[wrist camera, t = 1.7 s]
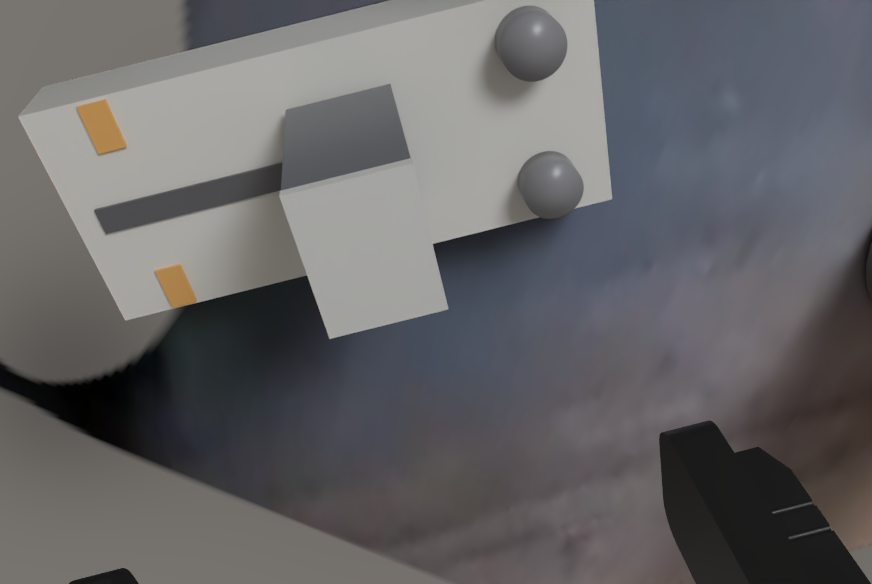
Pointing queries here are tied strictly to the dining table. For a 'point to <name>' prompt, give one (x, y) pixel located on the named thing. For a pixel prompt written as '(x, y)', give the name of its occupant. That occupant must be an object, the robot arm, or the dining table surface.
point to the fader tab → (358, 213)
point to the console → (308, 83)
